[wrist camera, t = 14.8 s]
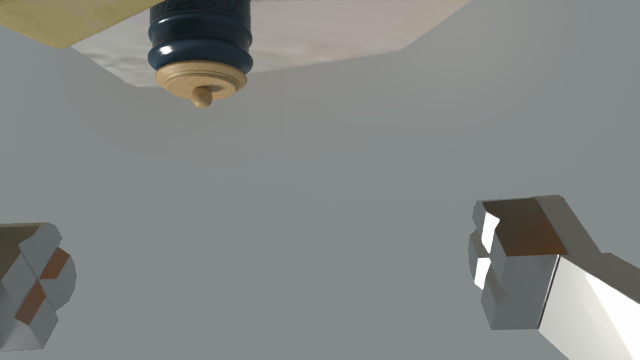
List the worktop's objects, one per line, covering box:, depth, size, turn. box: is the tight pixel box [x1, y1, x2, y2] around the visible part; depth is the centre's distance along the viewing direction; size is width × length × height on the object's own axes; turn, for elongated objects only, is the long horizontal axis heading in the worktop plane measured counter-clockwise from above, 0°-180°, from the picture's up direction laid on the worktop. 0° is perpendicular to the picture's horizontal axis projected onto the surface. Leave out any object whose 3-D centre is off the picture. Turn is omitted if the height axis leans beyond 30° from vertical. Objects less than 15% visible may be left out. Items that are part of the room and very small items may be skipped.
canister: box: [148, 0, 253, 108], centre depth 63 cm, size 13×13×18 cm
